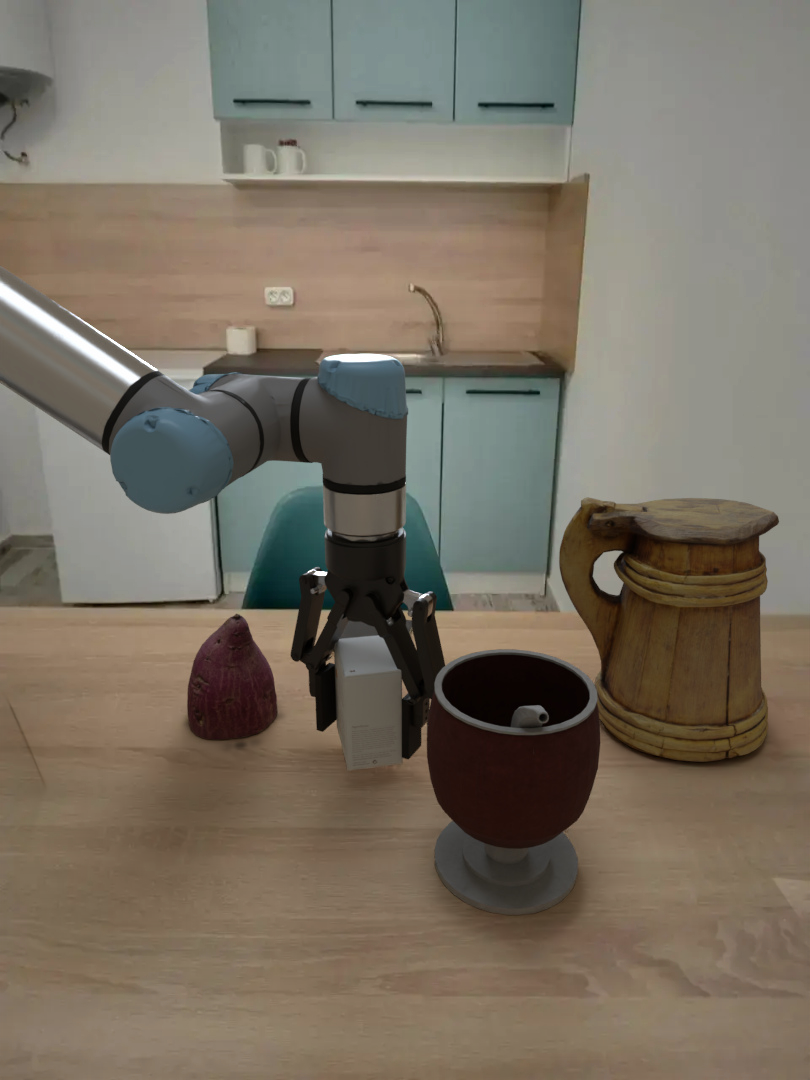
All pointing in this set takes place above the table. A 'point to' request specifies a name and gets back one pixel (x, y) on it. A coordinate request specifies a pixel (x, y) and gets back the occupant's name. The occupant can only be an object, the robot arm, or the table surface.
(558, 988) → the table surface
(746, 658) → the tankard
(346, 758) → the small box
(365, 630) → the slate coaster
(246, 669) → the vegetable
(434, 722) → the mate gourd
